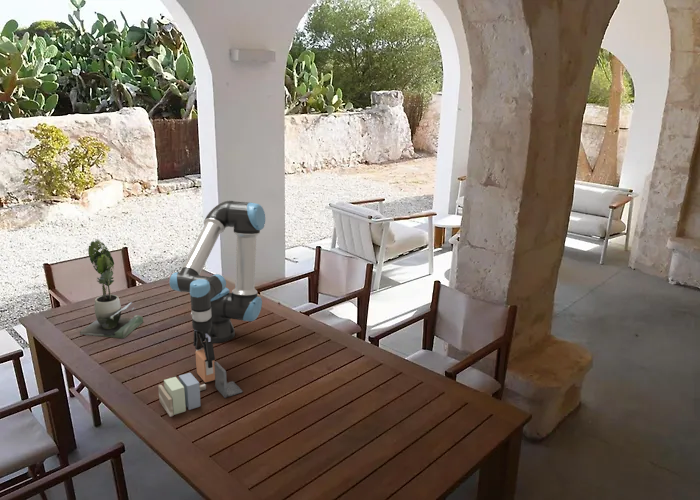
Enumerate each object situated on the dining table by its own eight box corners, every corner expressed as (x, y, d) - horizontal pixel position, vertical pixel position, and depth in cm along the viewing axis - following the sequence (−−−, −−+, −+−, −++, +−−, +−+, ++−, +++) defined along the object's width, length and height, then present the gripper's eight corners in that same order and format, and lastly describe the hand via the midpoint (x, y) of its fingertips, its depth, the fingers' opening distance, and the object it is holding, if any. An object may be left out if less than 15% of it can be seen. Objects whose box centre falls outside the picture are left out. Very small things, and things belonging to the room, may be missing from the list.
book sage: (177, 399, 218) (175, 376, 215) (185, 411, 211) (184, 387, 208) (165, 403, 216) (163, 379, 213) (173, 414, 209) (172, 390, 206)
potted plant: (143, 321, 283) (135, 234, 270) (123, 338, 265) (114, 246, 252) (102, 318, 286) (92, 231, 272) (79, 334, 268) (68, 242, 255)
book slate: (191, 395, 222) (190, 372, 218) (200, 406, 215) (199, 382, 212) (180, 398, 219) (178, 375, 216) (189, 410, 212) (187, 386, 209)
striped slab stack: (204, 387, 227) (204, 372, 225) (216, 401, 218) (216, 385, 216) (159, 401, 217) (158, 385, 215) (170, 416, 208) (168, 399, 205)
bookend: (233, 382, 231) (232, 357, 228) (242, 392, 224) (241, 366, 221) (215, 387, 227) (214, 362, 223) (224, 397, 220) (223, 371, 217)
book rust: (207, 369, 239) (205, 348, 236) (215, 379, 232) (214, 357, 229) (196, 372, 237) (195, 351, 233) (205, 382, 230) (203, 360, 226)
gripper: (182, 310, 232) (186, 360, 239) (203, 331, 216) (206, 383, 223) (200, 306, 236) (203, 355, 244) (222, 326, 220) (224, 377, 227)
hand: (205, 368), depth 233 cm, fingers closed on book rust, 9 cm apart
